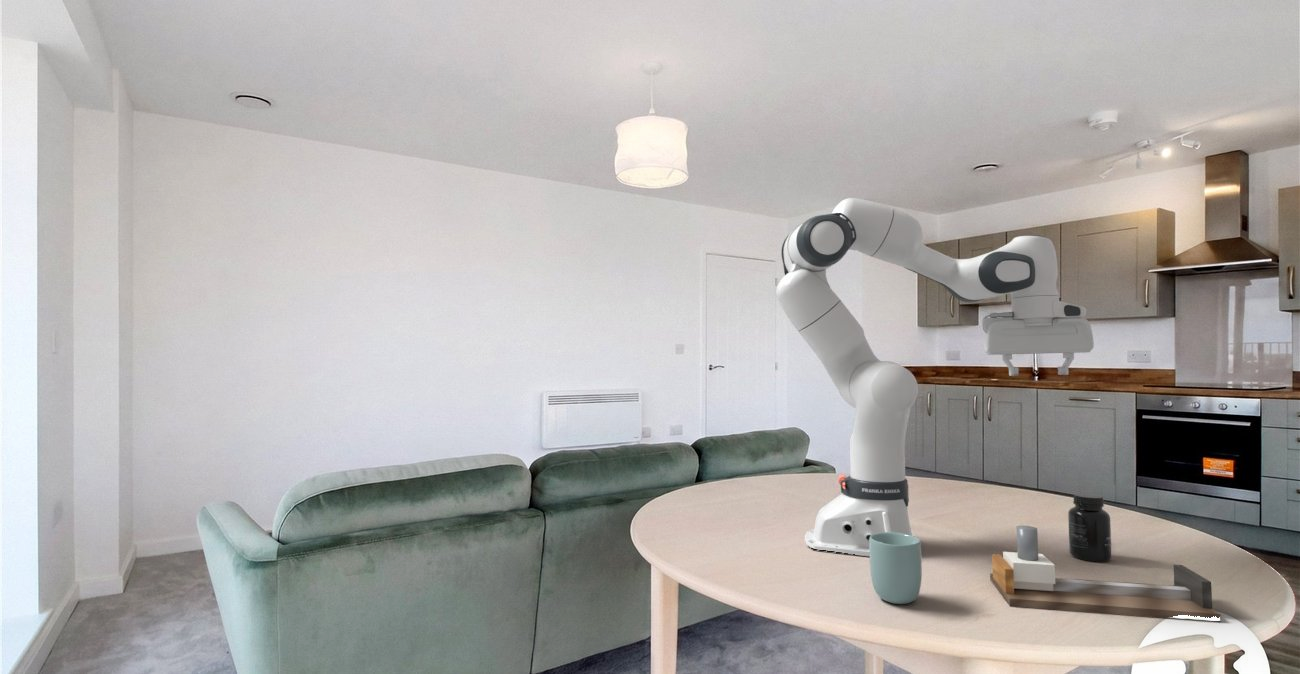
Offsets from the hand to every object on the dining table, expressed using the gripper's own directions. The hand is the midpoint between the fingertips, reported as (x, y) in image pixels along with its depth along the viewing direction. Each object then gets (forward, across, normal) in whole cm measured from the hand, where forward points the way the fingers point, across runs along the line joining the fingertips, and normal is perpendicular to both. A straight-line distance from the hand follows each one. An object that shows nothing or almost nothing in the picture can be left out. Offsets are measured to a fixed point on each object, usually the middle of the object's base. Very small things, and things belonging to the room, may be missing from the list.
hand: (1038, 375), depth 136 cm
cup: (+35, -34, -41) cm, 64 cm away
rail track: (+35, -3, -34) cm, 49 cm away
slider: (+34, -13, -34) cm, 49 cm away
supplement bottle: (+36, +5, -10) cm, 37 cm away
